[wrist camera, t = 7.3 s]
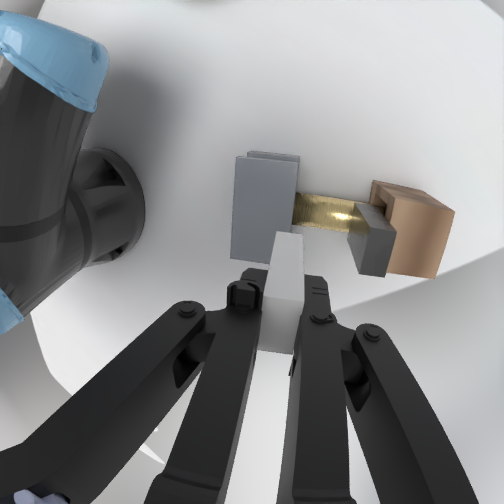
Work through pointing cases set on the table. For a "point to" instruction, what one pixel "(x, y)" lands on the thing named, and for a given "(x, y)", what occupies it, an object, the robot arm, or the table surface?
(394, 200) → the socket block
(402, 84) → the table surface
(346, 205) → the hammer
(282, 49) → the table surface
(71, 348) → the table surface
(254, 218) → the grey slotted clamp block
